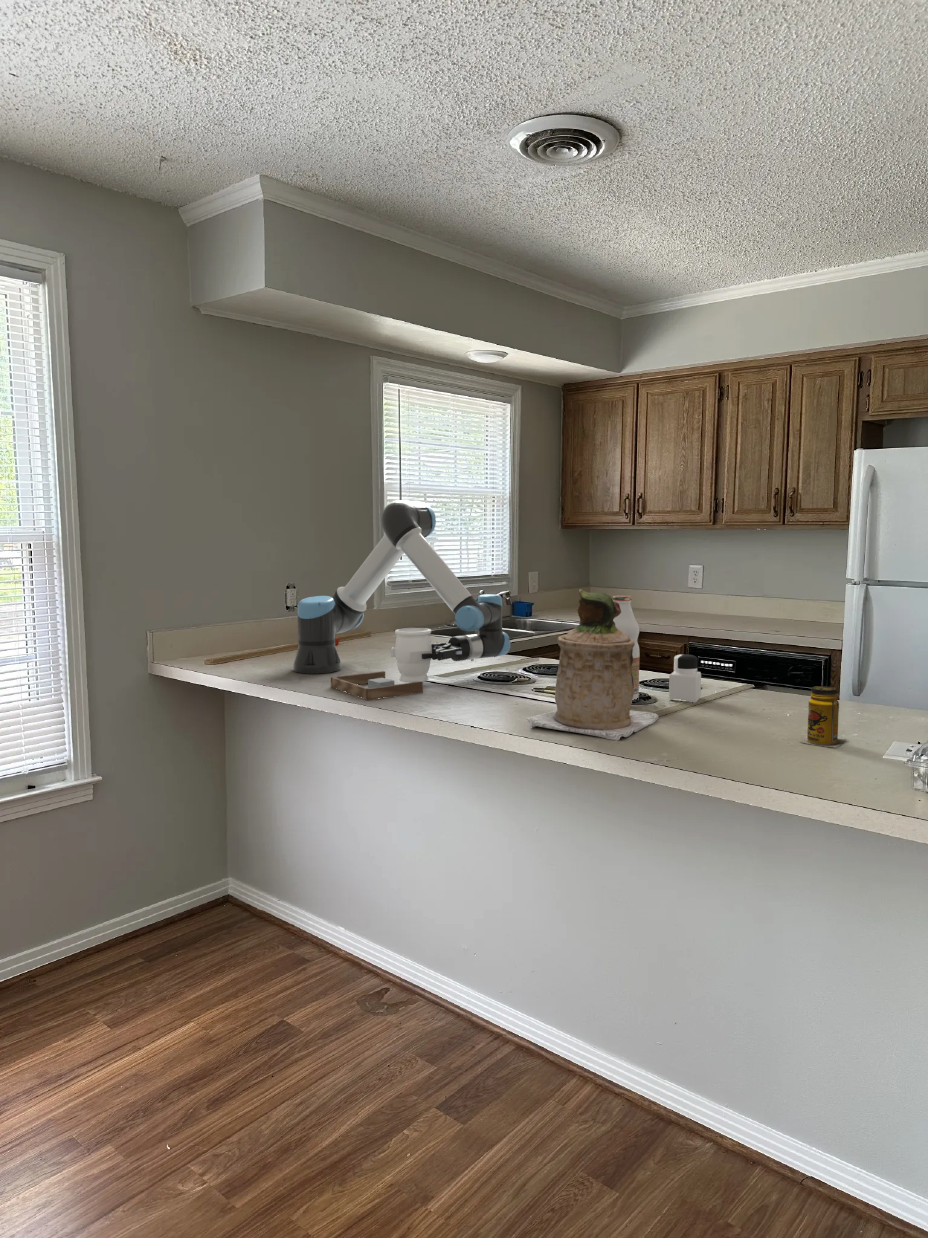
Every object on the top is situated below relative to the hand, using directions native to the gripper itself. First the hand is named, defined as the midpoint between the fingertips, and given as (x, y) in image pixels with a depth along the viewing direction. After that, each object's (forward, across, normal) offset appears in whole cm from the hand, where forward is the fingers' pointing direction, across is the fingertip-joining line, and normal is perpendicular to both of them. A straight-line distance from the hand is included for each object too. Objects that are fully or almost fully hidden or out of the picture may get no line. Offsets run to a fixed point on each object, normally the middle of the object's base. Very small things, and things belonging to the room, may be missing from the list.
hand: (401, 654), depth 246 cm
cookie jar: (-14, -66, -10) cm, 68 cm away
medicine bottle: (-53, -59, -10) cm, 80 cm away
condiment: (-44, -106, -10) cm, 115 cm away
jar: (-4, 0, -8) cm, 9 cm away
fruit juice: (-38, -50, -10) cm, 64 cm away
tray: (+8, 0, -9) cm, 13 cm away
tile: (+7, 0, -10) cm, 12 cm away
